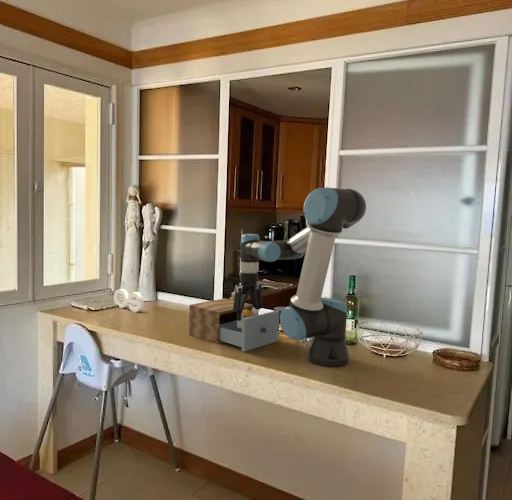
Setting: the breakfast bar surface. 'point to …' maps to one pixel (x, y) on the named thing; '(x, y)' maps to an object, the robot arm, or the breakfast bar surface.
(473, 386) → the breakfast bar surface
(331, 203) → the robot arm
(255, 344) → the grey drawer
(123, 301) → the contact lens case
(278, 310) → the mug
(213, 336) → the wooden drawer cabinet
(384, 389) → the breakfast bar surface
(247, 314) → the fruit
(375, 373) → the breakfast bar surface
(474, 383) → the breakfast bar surface
